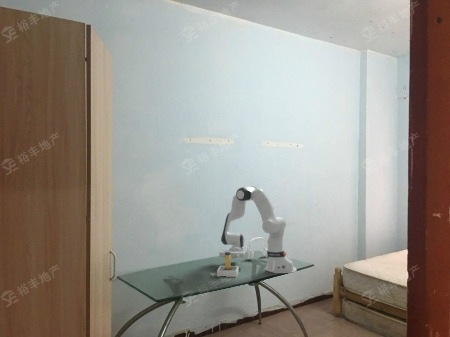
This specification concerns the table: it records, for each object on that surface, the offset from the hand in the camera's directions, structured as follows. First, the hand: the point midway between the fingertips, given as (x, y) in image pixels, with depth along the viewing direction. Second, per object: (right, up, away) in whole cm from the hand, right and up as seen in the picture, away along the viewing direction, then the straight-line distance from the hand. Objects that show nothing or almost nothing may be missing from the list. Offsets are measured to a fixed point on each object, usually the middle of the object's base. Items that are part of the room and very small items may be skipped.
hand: (230, 256), depth 253 cm
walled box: (-2, -10, -9) cm, 14 cm away
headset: (+24, -11, +36) cm, 45 cm away
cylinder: (-2, -9, -9) cm, 13 cm away
